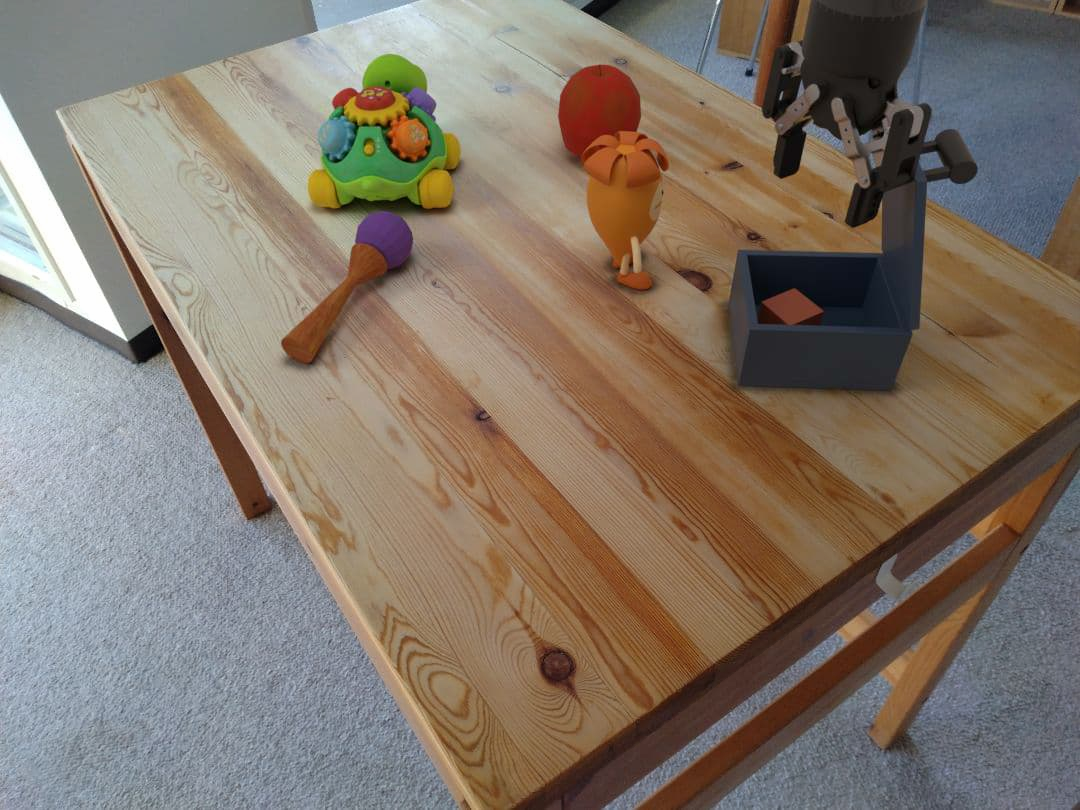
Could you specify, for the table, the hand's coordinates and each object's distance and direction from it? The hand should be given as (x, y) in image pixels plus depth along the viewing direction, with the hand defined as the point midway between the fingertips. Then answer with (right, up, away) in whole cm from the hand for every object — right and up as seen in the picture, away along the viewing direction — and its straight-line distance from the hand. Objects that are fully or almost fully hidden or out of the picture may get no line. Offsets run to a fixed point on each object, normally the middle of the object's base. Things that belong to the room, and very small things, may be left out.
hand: (819, 197), depth 69 cm
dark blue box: (+2, -11, +11) cm, 16 cm away
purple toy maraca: (-42, -6, +18) cm, 46 cm away
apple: (-16, +14, +37) cm, 43 cm away
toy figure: (-15, -3, +20) cm, 25 cm away
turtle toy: (-41, +11, +35) cm, 55 cm away
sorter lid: (+7, -2, +1) cm, 7 cm away
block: (0, -11, +11) cm, 15 cm away
